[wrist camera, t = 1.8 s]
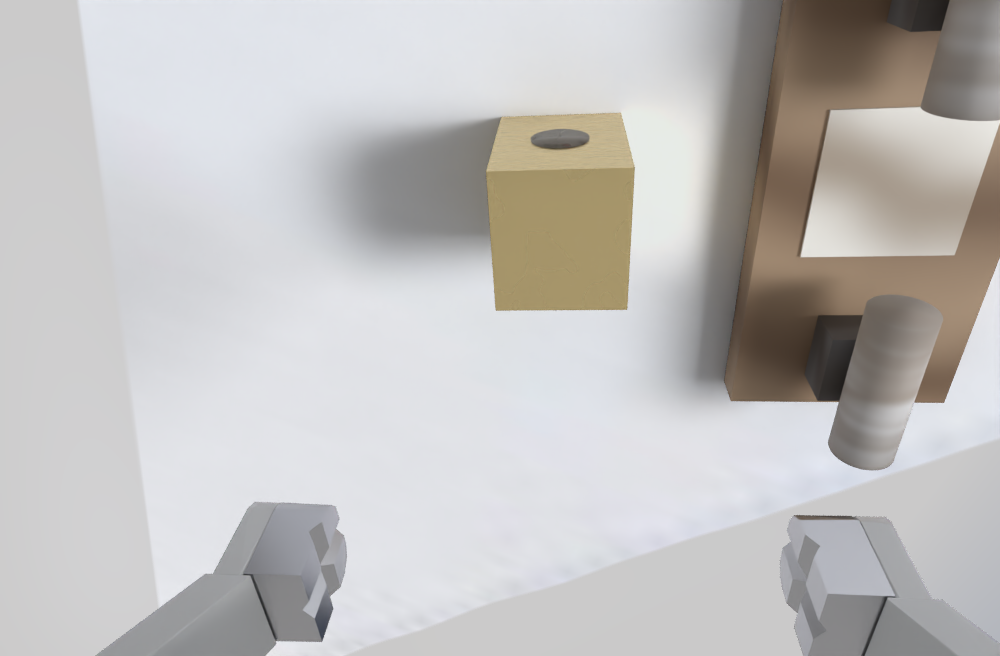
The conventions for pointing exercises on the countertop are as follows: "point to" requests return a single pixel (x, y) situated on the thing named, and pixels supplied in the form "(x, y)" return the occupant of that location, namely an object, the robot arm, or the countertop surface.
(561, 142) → the block
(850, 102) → the shaft mount
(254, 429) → the countertop surface
